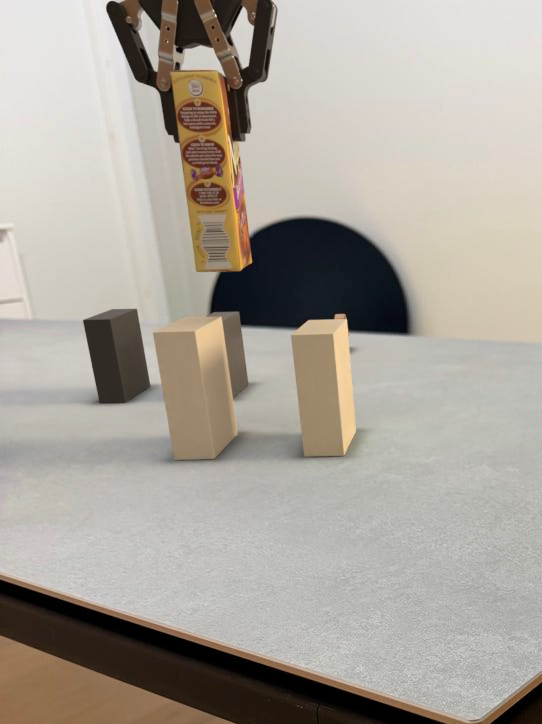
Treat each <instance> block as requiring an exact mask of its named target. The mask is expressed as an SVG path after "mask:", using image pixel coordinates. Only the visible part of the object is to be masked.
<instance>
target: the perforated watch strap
mask: <svg viewBox="0 0 542 724" xmlns="http://www.w3.org/2000/svg"><path fill="white" fill-rule="evenodd" d="M333 319H347V315H346V314H345V313H336V314H334V318H333ZM348 325H349V324H347V327H348V328H349V326H348ZM349 332H350V331H349V329H348V337H349V336H350V333H349Z"/></svg>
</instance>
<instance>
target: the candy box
mask: <svg viewBox="0 0 542 724" xmlns="http://www.w3.org/2000/svg"><path fill="white" fill-rule="evenodd" d="M223 74H224V73H222V72H220V71H219V70H217V69H181V70H174V71H170V76H171V83H172V90H173V99H174V106H175V113H176V121H177V129H178V137H179V143H178V144H179V151H180V159H181V166H182V175H183V182H184V190H185V191H184V192H185V198H186V205H187V214H188V219H189V220H188V221H189V226H190V227H189V228H190V236H191V242H192V250H193V258H194V259H193V260H194V265H195V271H196V272H197V273H233V272H234V273H235V272H241V271H243V269H245V268H246V267H248V266H249V265H251V264H252V263H253V259H252V250H251V241H250V232H249V223H248V222H249V221H248V214H247V213H248V211H247V205H246V196H245V186H244V177H243V169H242V160H241V153H240V142H235V141H233V138H232V132H231V124H230V115H229V107H228V100H227V92H226V91H229V84H228V81H227V79H226V76H225V75H223Z"/></svg>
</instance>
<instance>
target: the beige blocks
mask: <svg viewBox="0 0 542 724" xmlns="http://www.w3.org/2000/svg"><path fill="white" fill-rule="evenodd" d="M347 325H348V319H347V318H346V319H334V318H333V319H308V320H307V321H306V322H304V323H303V324H302V325H301V326H300V327H298V328H297V329H296V330H295V331H294V332H292V333H291V334H290V338H291V339H290V341H291V346H292V347H291V348H292V349H291V350H292V359H293V367H294V375H295V384H296V385H295V386H296V395H297V403H298V412H299V413H298V415H299V422H300V431H301V441H302V449H303V457H305V458H307V457H308V458H309V457H310V458H311V457H312V458H313V457H344V456H345V455H346V453H347V451H348V449H349V447H350V445H351V442H352V441H353V439H354V437H355V435H356V433H357V428H356V427H357V424H356V423H357V422H356V411H355V402H354V389H353V376H352V366H351V365H352V363H351V351H350V341H349V336H348V334H349V332H348V330H349V326H348V327H347ZM152 335H153V341H154V342H153V343H154V346H155V347H154V348H155V353H156V360H157V365H158V372H159V377H160V383H161V388H162V395H163V399H164V407H165V412H166V418H167V424H168V431H169V435H170V442H171V447H172V453H173V454H172V455H173V459H174V460H175V461H188V460H190V461H191V460H192V461H193V460H215V459H216V458H217V457H218V456H219V455H220V454H221V453H222V452H223V451H224V450H225V449H226V447H227V446H228V445H229V444H230V443H231V442H232V441H233V440H234V439H235V438H236V437H237V436H238V434H239V433H238V424H237V418H236V412H235V411H236V410H235V404H234V398H233V396H232V389H231V381H230V374H229V367H228V360H227V352H226V345H225V338H224V331H223V323H222V317H221V316H219V317H206V316H184V317H181V318H179V319H177V320H175V321H172V322H170V323H169V324H166V325H165V326H163V327H161V328H158V329H157V330H154V331H152Z"/></svg>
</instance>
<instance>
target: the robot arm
mask: <svg viewBox="0 0 542 724" xmlns="http://www.w3.org/2000/svg"><path fill="white" fill-rule="evenodd" d="M277 6H278V5H276V3H275V2H274V1H273V0H122V1H119V2H117V1H116V0H110V1H108V2H107V3H106V6H105V9H106V14H107V17H108V18H109V20H110V23H111V25H112V28H113V31H114V33H115V35H116V37H117V40H118V43H119V44H120V47H121V48H122V52H123V54H124V57H125V59H126V61H127V64H128V66H129V68H130V71H131V73H132V76H133V77H134V79H135V81H136V82H138V83H140V84H143V85H145V86H148V87H151V88H153V89H155V90H156V91H157V92H158V94H159V98H160V104H161V111H162V112H161V113H162V118H163V123H164V130H165V131H166V133H167V135H168V136H172V138H173V141H174V143H175V144H179V137H178V129H177V121H176V113H175V106H174V99H173V90H172V83H171V76H170V71H174V70H182V66H183V64H184V61H185V56H186V50H191V49H192V50H193V49H195V48H198V47H200V46H201V47H205V48H209V49H213V51H214V54H215V56H216V58H217V60H218V62H219V63H220V66H221V68H222V72H223V74H224V76H225V77H226V79H227V81H228V84H229V91H226V92H227V100H228V107H229V115H230V124H231V132H232V138H233V141H235V142H239V143H242V142H245V143H246V139H247V138H246V134H247V135H250V134H251V130H252V120H251V110H250V104H249V103H250V102H249V91H250V89H251V88H252V87H253V86H255V85H258V84H260V83H265V82H266V81H267V80H268V78H269V72H270V65H271V59H272V53H273V45H274V39H275V38H274V37H275V32H276V25H277V19H278V7H277ZM243 8H244V9H245V10H246V14H247V17H246V18H247V21H248V23H249V24H250V25H251V26H253V31H252V36H251V37H252V39H251V45H250V53H249V60H248V66H246V67H243V65H242V63H241V60H240V55H239V51H238V50H237V47H236V44H235V42H234V39H233V37H232V34H231V33H232V31H233V29H234V26H235V24H236V22H237V20H238V18H239V17H240V14H241V12H242V10H243ZM143 12H145V14H146V15H147V16H148V18H149V19H150V20H151V22H152V23H153V24H154V25H155V27H156V28H157V29H158V31H159V39H158V45H157V47H158V48H157V56H158V63H157V71H156V70H155V69H154V66H153V64H152V61H151V59H150V57H149V54H148V52H147V49H146V47H145V45H144V42H143V40H142V38H141V37H142V36H141V35H140V32H139V31H141V29H142V27H143V21H142V14H143Z"/></svg>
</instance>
